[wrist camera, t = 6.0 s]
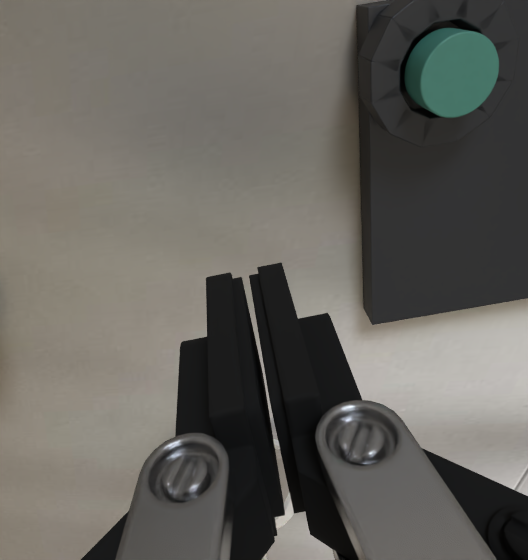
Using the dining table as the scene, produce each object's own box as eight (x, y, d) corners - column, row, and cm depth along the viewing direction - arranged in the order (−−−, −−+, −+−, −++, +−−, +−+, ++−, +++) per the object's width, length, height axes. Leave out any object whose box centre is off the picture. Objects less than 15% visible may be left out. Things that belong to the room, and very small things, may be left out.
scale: (345, -6, 20) (369, -4, 17) (676, -57, 21) (756, -64, 18) (356, 309, 29) (373, 346, 26) (589, 269, 29) (632, 301, 26)
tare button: (404, 34, 19) (422, 38, 17) (480, 21, 19) (505, 25, 17) (402, 113, 20) (419, 124, 19) (473, 102, 20) (494, 111, 19)
